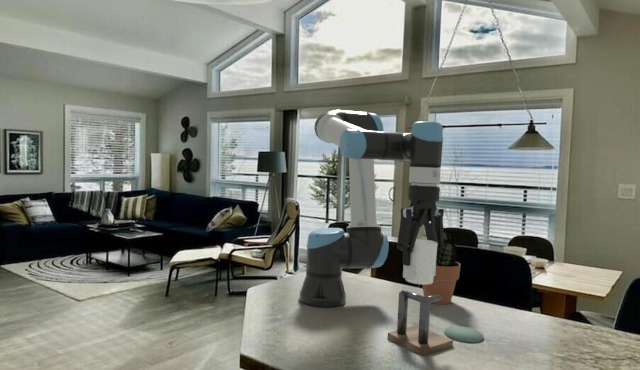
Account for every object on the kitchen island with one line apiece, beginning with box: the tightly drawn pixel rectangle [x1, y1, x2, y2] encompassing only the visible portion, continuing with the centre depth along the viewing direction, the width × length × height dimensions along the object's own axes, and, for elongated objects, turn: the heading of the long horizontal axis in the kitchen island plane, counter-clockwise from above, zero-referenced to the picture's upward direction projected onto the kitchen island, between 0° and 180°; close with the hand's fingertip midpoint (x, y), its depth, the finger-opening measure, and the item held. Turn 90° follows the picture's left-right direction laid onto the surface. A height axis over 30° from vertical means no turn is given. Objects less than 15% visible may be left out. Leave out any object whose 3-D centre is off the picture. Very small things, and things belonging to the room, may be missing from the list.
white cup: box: [405, 238, 438, 286], centre depth 109 cm, size 8×8×10 cm
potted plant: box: [421, 226, 461, 305], centre depth 149 cm, size 14×14×25 cm
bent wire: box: [396, 289, 441, 345], centre depth 112 cm, size 9×7×11 cm
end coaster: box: [443, 325, 484, 344], centre depth 118 cm, size 10×10×1 cm
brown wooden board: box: [387, 324, 454, 356], centre depth 112 cm, size 12×11×2 cm
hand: (419, 276), depth 109 cm, fingers closed on white cup, 8 cm apart
